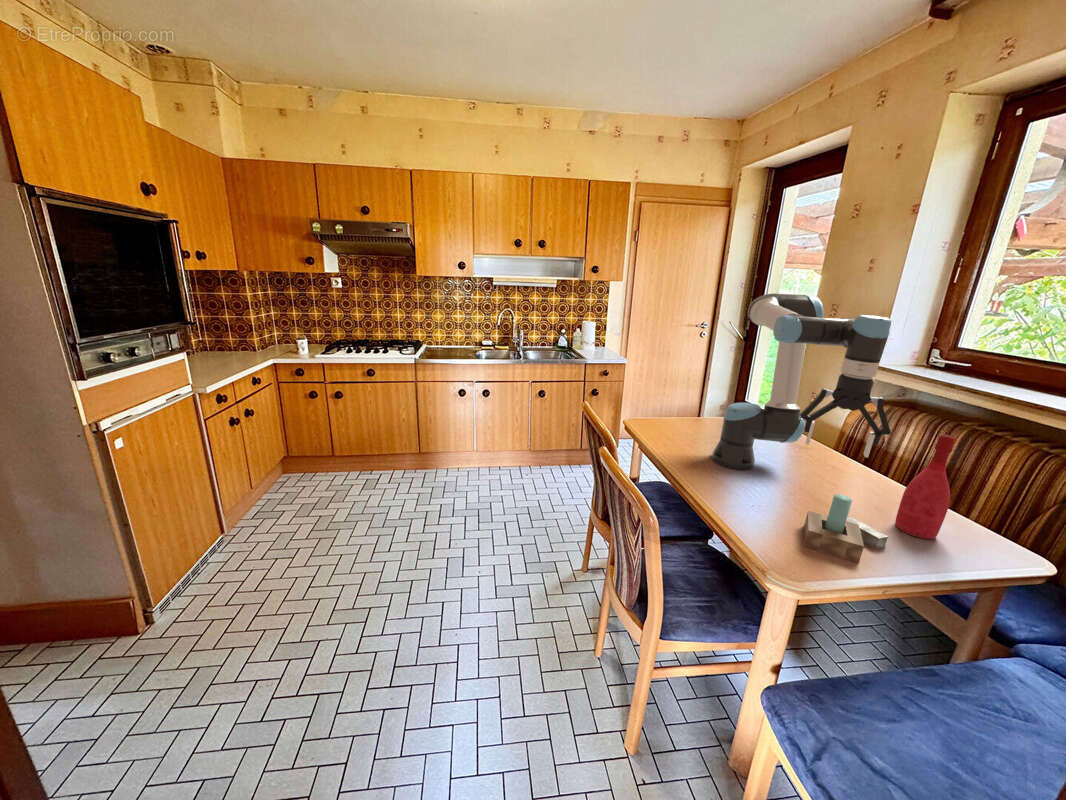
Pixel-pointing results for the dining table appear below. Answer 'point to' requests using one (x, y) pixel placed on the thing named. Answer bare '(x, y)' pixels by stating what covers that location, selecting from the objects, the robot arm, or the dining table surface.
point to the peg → (838, 513)
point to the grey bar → (870, 534)
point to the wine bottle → (927, 496)
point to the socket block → (833, 538)
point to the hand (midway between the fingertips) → (835, 449)
